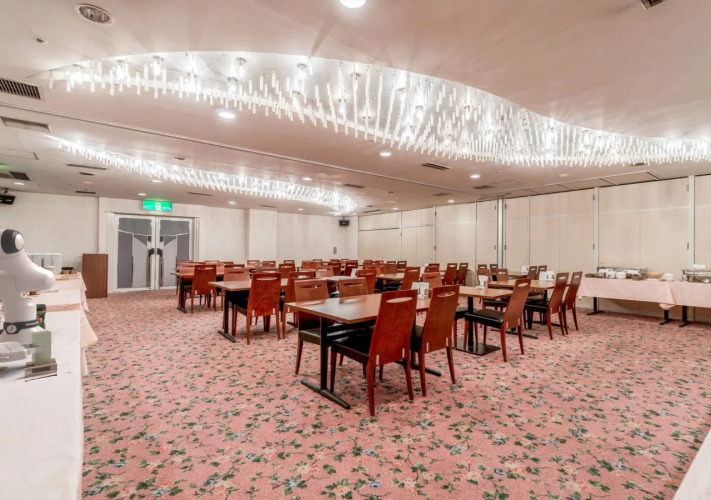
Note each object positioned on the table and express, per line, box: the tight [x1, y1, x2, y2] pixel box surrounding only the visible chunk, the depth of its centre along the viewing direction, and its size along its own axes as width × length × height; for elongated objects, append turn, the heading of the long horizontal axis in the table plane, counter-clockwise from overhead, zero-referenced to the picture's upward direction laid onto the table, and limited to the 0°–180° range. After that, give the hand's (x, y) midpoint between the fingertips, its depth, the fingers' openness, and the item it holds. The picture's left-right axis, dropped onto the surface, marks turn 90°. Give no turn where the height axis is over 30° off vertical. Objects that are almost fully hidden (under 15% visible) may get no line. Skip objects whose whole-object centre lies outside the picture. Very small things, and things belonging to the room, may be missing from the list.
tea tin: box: [31, 329, 52, 367], centre depth 141 cm, size 5×5×13 cm
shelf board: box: [24, 357, 58, 382], centre depth 136 cm, size 24×9×4 cm, turn 43°
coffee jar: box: [36, 303, 48, 331], centre depth 188 cm, size 10×8×19 cm
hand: (38, 347), depth 140 cm, fingers open, 8 cm apart
